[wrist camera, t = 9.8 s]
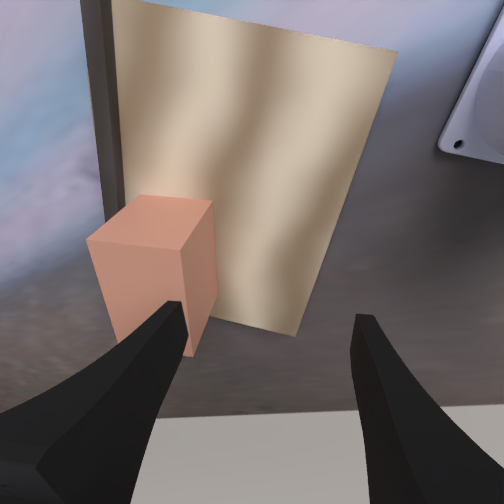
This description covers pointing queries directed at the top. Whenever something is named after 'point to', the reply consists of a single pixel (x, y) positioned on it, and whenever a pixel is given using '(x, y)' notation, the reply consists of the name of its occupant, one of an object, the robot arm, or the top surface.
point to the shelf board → (234, 138)
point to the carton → (157, 262)
